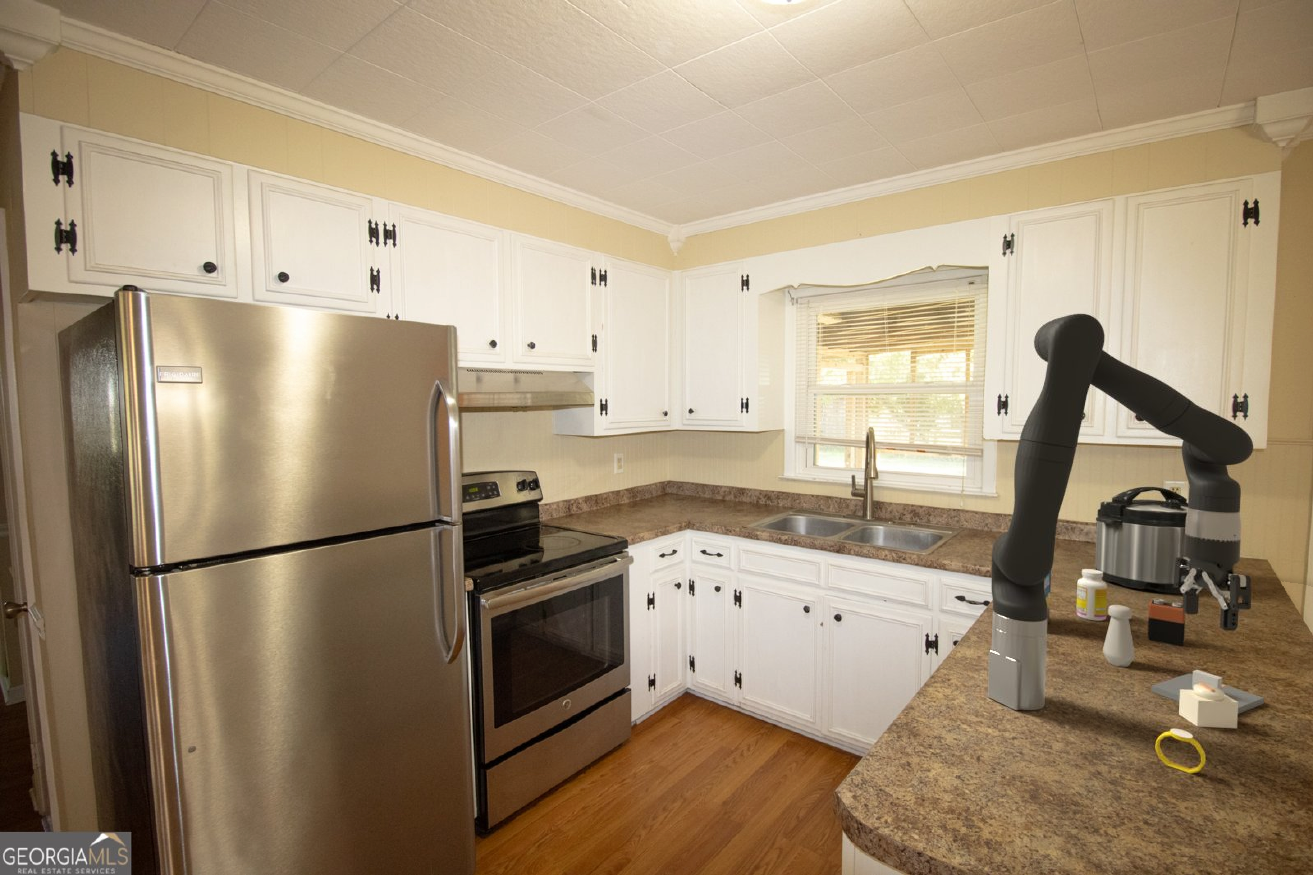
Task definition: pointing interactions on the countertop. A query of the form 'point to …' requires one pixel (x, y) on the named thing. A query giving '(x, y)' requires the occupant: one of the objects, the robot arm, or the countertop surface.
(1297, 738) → the countertop surface
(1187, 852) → the countertop surface
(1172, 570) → the pressure cooker
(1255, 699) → the plate
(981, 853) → the countertop surface
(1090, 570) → the supplement bottle
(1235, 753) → the countertop surface
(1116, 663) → the salt shaker
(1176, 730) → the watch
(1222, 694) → the knob
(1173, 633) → the battery
